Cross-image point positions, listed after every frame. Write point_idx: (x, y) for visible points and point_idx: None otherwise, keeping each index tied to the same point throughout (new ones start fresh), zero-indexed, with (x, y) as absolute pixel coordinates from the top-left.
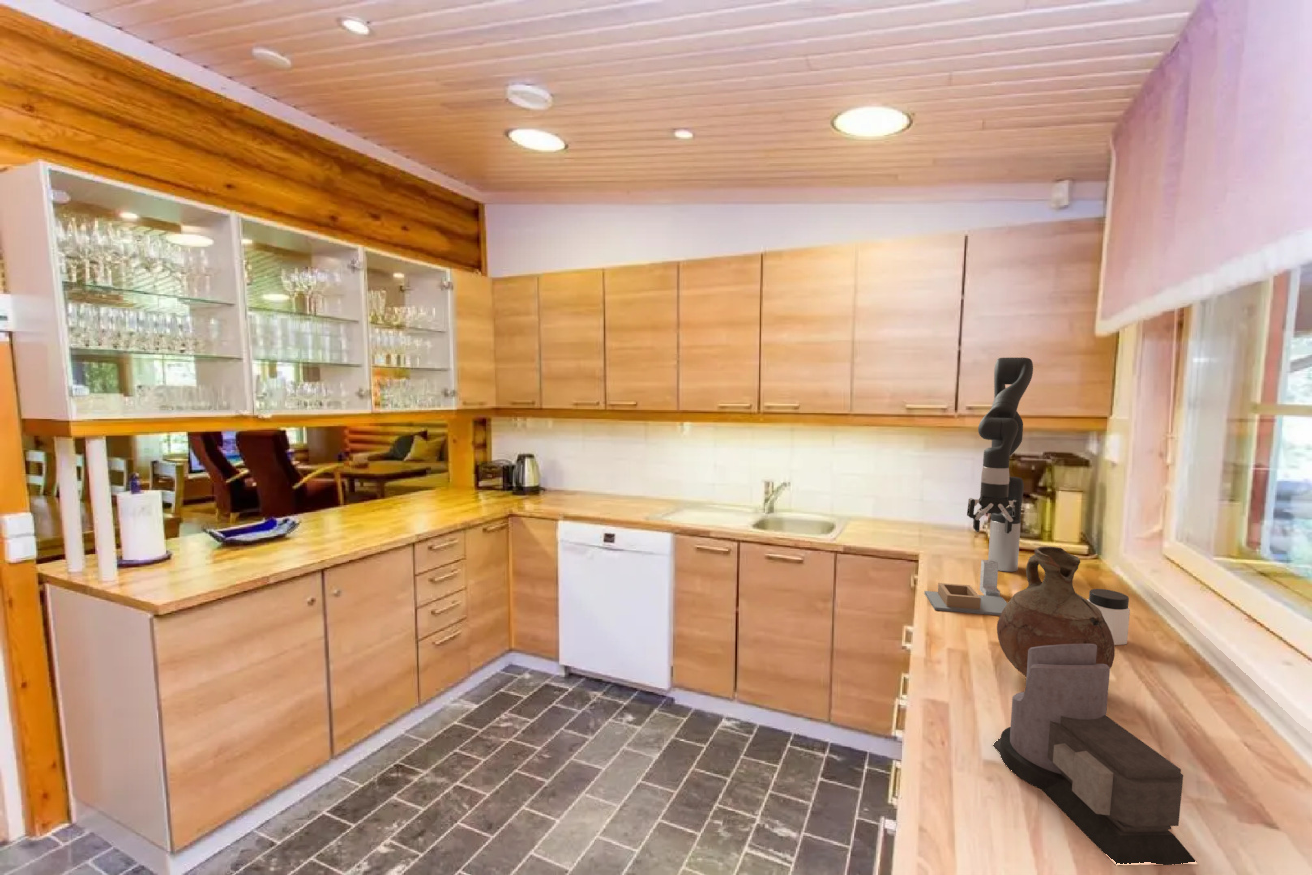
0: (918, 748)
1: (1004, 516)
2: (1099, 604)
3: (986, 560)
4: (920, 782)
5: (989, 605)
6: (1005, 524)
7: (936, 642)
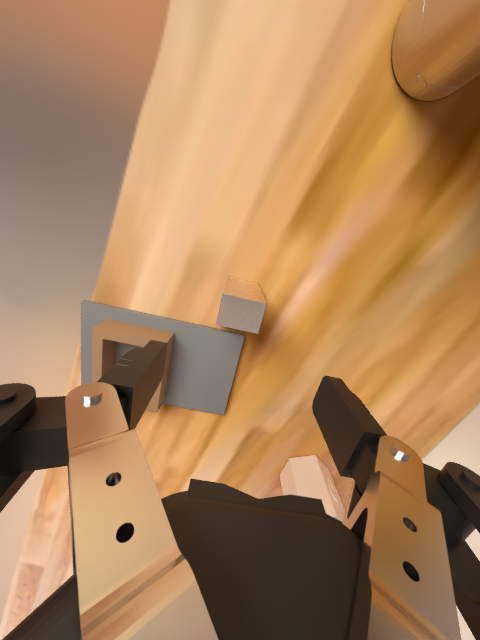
0: (10, 601)
1: (370, 476)
2: None
3: (236, 302)
4: (8, 619)
5: (192, 379)
6: (344, 415)
7: (59, 481)
